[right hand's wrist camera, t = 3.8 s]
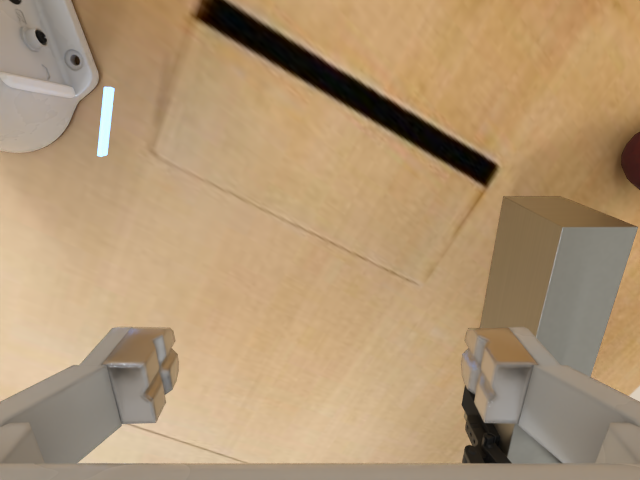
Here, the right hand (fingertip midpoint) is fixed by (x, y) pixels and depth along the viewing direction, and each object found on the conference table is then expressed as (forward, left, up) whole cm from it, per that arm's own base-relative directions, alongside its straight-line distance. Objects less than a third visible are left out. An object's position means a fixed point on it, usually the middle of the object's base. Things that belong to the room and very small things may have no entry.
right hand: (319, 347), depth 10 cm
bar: (+15, +19, -24) cm, 33 cm away
